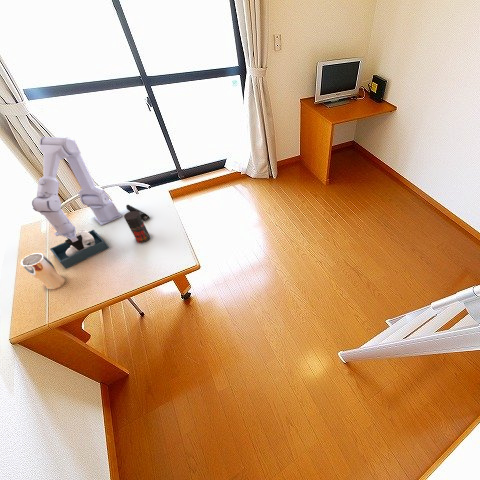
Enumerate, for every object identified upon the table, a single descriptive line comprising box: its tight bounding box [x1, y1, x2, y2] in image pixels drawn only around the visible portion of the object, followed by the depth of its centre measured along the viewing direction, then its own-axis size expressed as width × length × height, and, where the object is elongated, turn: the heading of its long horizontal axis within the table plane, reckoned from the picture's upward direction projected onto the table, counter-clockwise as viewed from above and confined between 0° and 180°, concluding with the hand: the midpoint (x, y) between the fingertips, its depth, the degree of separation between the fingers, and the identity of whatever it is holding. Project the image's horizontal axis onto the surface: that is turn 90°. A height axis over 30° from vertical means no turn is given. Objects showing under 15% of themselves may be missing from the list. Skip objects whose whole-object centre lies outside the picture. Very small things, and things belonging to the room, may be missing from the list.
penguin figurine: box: [66, 230, 95, 257], centre depth 123 cm, size 6×8×12 cm
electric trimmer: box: [125, 204, 151, 222], centre depth 146 cm, size 4×16×3 cm, turn 58°
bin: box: [49, 229, 109, 270], centre depth 124 cm, size 17×11×4 cm, turn 141°
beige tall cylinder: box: [20, 252, 66, 290], centre depth 108 cm, size 7×7×15 cm
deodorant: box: [123, 211, 151, 244], centre depth 129 cm, size 6×6×15 cm
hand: (77, 244), depth 123 cm, fingers open, 7 cm apart
